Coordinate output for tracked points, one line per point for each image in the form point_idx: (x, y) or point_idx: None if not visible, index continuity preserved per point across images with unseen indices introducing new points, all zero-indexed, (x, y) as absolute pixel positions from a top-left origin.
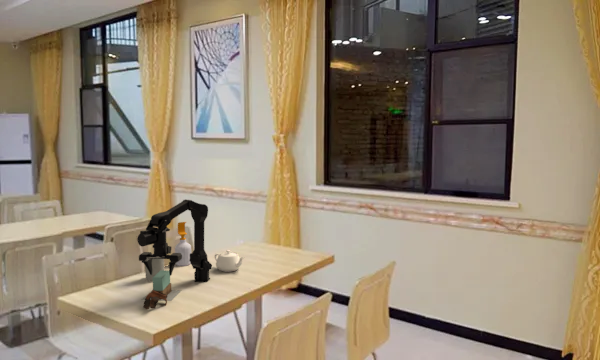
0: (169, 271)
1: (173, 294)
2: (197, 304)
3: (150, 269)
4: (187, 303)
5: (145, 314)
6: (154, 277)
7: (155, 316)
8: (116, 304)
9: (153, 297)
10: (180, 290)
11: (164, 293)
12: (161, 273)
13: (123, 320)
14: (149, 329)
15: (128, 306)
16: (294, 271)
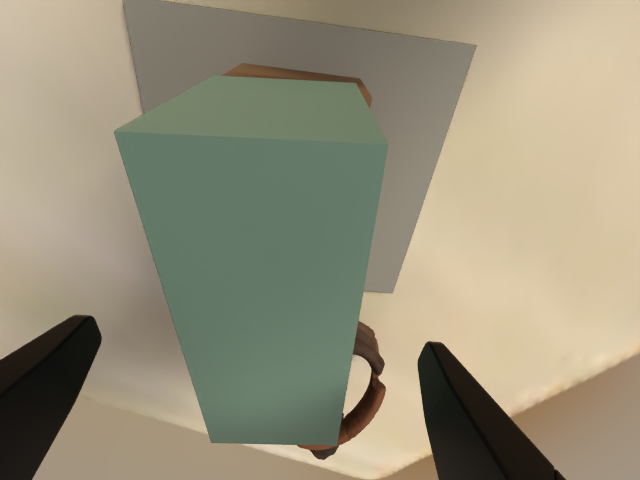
0: (437, 458)
1: (394, 175)
2: (558, 322)
3: (27, 457)
4: (498, 310)
5: None
6: (231, 438)
7: (346, 414)
8: (59, 316)
9: (322, 458)
10: (459, 52)
11: None
12: (255, 325)
13: None
14: (352, 470)
15: (154, 339)
16: None
